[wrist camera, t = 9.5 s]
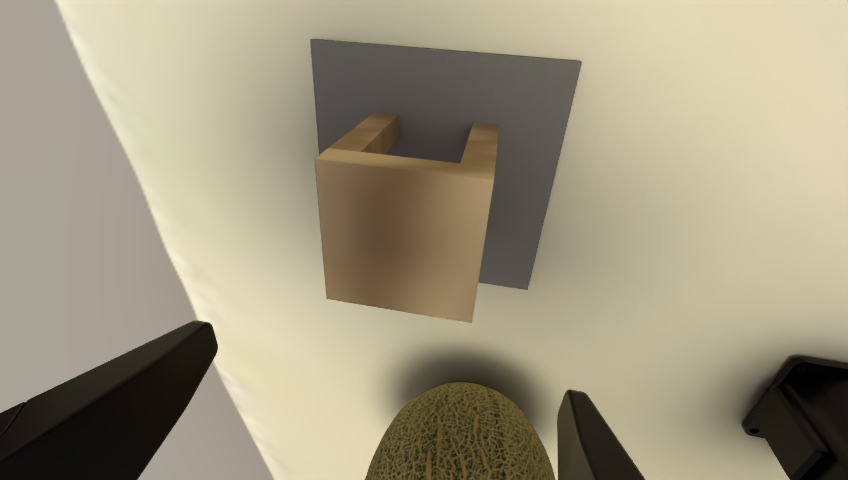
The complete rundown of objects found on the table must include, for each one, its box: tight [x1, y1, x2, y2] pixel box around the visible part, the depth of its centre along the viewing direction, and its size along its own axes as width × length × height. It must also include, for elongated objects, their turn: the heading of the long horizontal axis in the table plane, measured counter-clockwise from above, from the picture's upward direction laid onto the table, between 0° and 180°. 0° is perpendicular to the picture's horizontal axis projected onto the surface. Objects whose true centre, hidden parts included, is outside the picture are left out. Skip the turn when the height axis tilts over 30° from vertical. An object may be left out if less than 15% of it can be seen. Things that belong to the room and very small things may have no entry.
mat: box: [310, 39, 582, 290], centre depth 21 cm, size 12×12×1 cm
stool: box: [315, 112, 499, 323], centre depth 18 cm, size 6×6×7 cm
